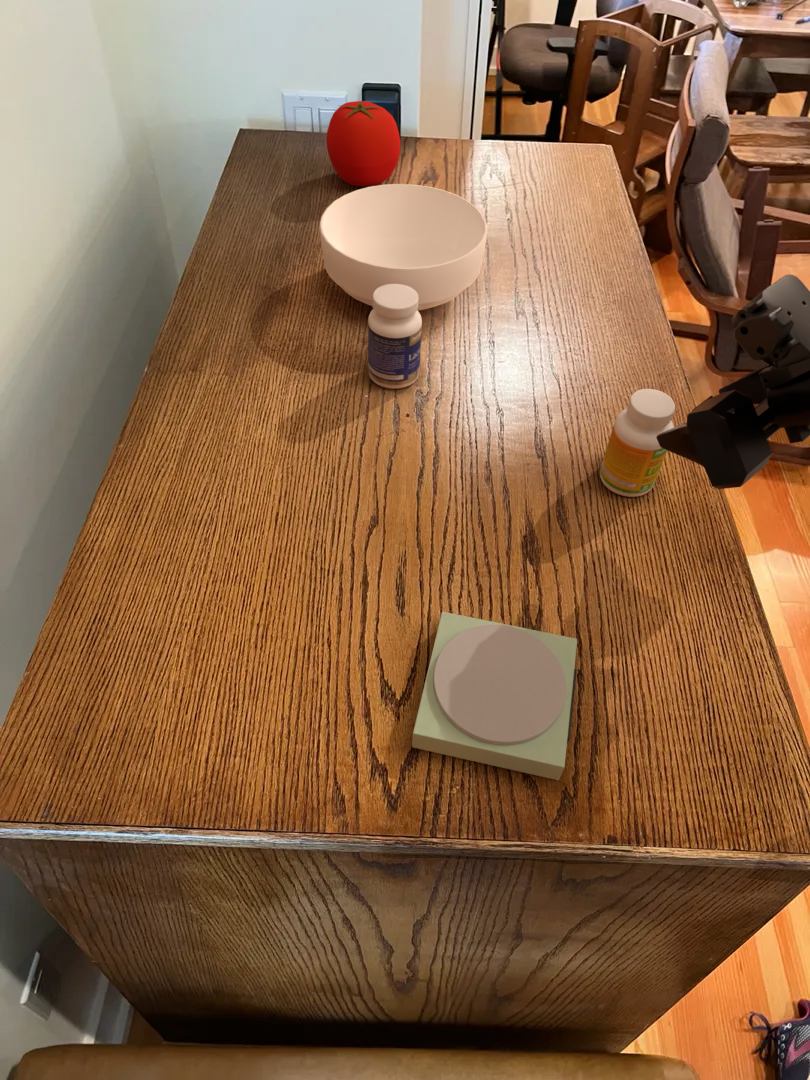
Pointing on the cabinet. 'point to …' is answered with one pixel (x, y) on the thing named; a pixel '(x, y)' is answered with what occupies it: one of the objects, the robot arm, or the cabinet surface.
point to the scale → (498, 696)
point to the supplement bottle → (637, 444)
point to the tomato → (363, 143)
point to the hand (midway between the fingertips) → (691, 417)
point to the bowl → (403, 242)
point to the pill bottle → (394, 336)
